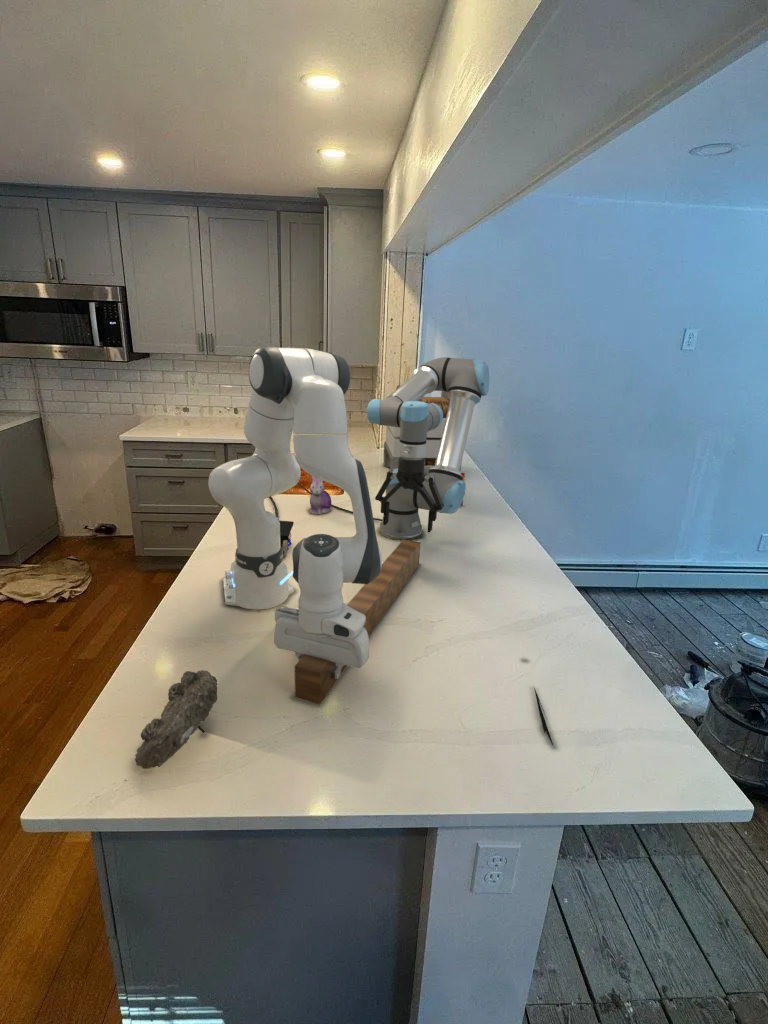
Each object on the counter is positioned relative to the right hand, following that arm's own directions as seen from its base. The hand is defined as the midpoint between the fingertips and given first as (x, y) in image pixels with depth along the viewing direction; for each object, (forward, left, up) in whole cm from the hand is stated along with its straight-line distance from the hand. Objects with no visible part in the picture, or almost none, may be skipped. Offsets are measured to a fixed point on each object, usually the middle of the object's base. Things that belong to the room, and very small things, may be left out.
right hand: (407, 527), depth 167 cm
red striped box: (-44, +65, -14) cm, 80 cm away
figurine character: (-35, -22, -14) cm, 44 cm away
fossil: (+26, -79, -14) cm, 85 cm away
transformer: (-76, +79, -14) cm, 111 cm away
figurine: (-58, +9, -14) cm, 60 cm away
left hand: (+30, -52, -12) cm, 61 cm away
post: (+15, -26, -14) cm, 33 cm away
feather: (+61, -19, -14) cm, 66 cm away
